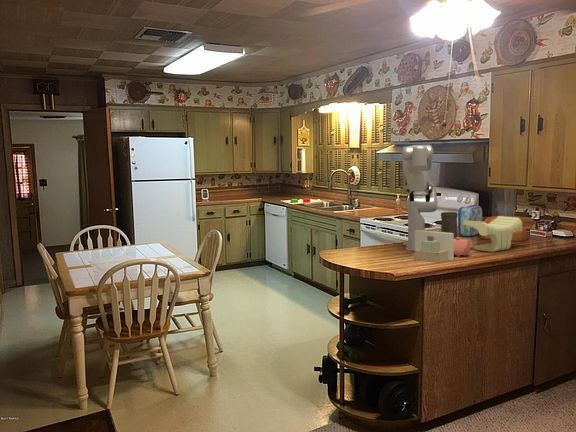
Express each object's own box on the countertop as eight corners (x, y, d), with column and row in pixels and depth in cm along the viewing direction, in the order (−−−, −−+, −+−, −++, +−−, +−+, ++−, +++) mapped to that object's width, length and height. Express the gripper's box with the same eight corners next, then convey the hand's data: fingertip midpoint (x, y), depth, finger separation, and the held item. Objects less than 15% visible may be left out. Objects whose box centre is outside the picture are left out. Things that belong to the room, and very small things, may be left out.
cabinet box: (421, 252, 253) (421, 236, 252) (429, 250, 258) (429, 235, 257) (431, 253, 249) (431, 237, 248) (439, 251, 254) (439, 236, 253)
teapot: (443, 257, 260) (443, 238, 259) (444, 253, 271) (444, 235, 270) (471, 258, 255) (471, 239, 254) (471, 254, 266) (471, 236, 265)
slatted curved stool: (486, 254, 264) (486, 222, 263) (463, 250, 278) (463, 219, 277) (521, 248, 278) (522, 218, 277) (498, 245, 292) (498, 216, 291)
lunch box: (468, 232, 351) (468, 203, 349) (483, 233, 344) (484, 204, 342) (455, 236, 331) (455, 206, 328) (471, 238, 324) (471, 206, 322)
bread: (522, 242, 300) (522, 217, 299) (479, 239, 318) (479, 216, 316) (528, 239, 311) (529, 215, 309) (486, 236, 328) (486, 214, 327)
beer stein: (458, 244, 297) (458, 212, 296) (440, 244, 300) (440, 212, 300) (458, 242, 312) (458, 211, 311) (440, 242, 315) (440, 211, 314)
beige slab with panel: (404, 258, 260) (404, 232, 259) (416, 255, 268) (416, 230, 267) (441, 263, 244) (441, 235, 243) (453, 259, 252) (453, 233, 251)
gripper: (401, 170, 260) (401, 201, 262) (430, 169, 248) (430, 202, 249) (409, 169, 265) (409, 200, 267) (437, 169, 253) (437, 201, 254)
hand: (419, 201), depth 258 cm, fingers open, 9 cm apart
